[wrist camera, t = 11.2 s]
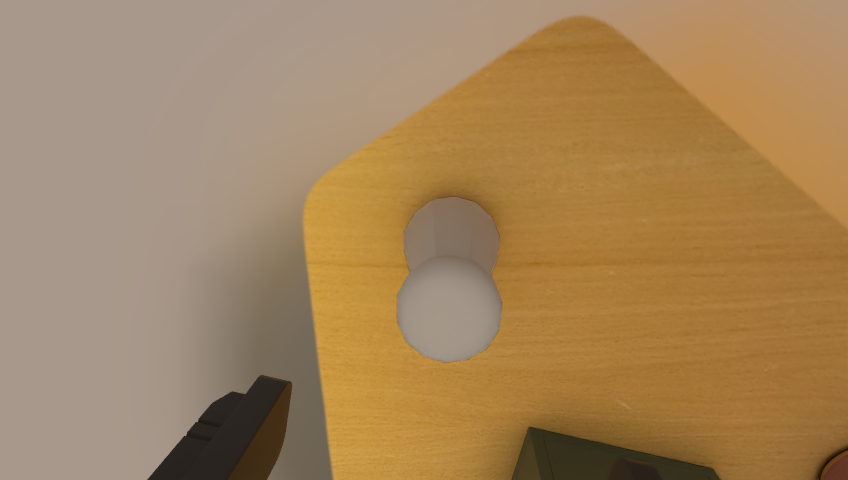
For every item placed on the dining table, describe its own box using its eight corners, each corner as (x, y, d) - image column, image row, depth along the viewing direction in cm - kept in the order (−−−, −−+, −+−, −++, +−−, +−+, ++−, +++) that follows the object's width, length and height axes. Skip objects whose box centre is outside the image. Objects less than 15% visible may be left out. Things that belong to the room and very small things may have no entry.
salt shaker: (389, 235, 30) (341, 323, 18) (448, 171, 29) (440, 217, 16) (455, 291, 31) (453, 414, 18) (514, 231, 29) (556, 320, 17)
